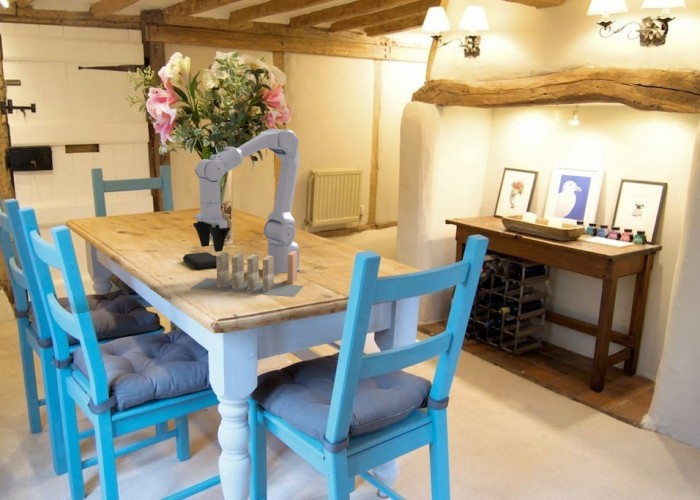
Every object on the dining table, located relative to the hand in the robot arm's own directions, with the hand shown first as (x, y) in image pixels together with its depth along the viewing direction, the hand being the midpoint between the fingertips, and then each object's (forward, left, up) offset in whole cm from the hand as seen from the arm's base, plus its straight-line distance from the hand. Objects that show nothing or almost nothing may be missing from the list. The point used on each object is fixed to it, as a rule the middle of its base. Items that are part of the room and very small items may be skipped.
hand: (211, 248), depth 168 cm
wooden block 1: (-7, +12, -10) cm, 17 cm away
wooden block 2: (-11, +15, -10) cm, 21 cm away
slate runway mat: (-6, +11, -10) cm, 16 cm away
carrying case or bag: (-5, -20, -11) cm, 24 cm away
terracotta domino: (-20, +12, -10) cm, 25 cm away
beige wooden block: (-1, +5, -10) cm, 11 cm away
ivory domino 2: (-4, +8, -10) cm, 13 cm away
